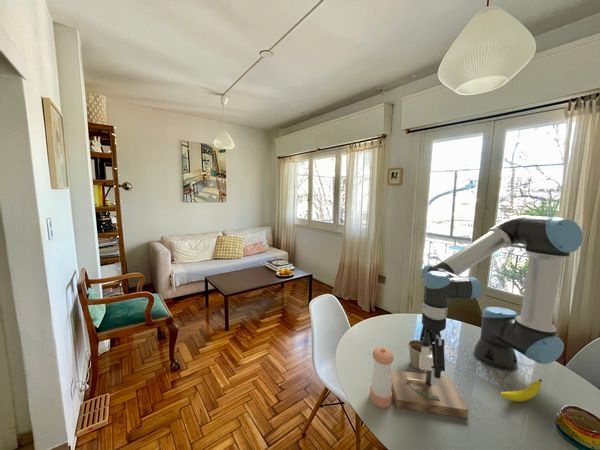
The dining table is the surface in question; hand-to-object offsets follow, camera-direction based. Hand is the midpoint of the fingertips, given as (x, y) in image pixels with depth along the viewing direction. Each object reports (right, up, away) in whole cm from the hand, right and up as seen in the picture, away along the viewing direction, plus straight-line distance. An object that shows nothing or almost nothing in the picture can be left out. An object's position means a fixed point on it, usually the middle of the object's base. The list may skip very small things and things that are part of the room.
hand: (429, 372), depth 90 cm
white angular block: (-2, -4, +1) cm, 5 cm away
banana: (+31, -9, -2) cm, 32 cm away
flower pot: (+3, -6, +15) cm, 17 cm away
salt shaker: (-19, -8, -3) cm, 21 cm away
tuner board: (-2, -8, -1) cm, 8 cm away
